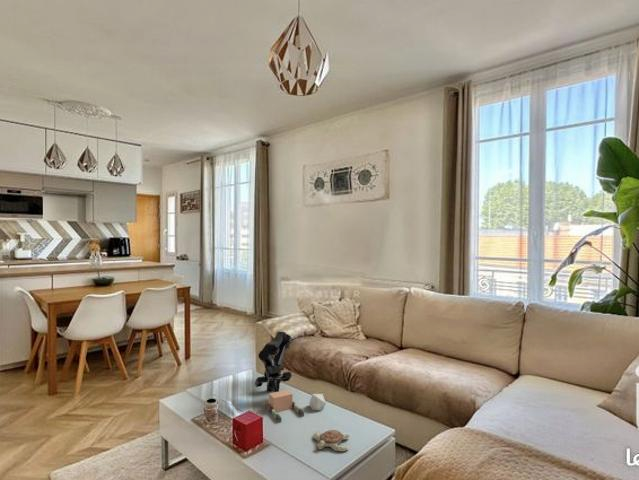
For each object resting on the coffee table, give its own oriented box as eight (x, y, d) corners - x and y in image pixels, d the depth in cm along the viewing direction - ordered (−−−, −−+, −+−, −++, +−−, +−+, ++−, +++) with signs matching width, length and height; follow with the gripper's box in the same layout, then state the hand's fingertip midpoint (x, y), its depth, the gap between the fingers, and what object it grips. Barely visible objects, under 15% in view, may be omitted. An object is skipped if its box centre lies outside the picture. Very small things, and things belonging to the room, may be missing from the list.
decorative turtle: (302, 443, 157) (302, 431, 157) (328, 428, 169) (328, 417, 169) (334, 461, 145) (334, 448, 145) (360, 443, 157) (360, 432, 157)
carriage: (269, 407, 186) (269, 393, 186) (287, 403, 191) (287, 389, 191) (273, 412, 181) (273, 398, 181) (292, 407, 185) (292, 393, 185)
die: (319, 417, 180) (330, 399, 183) (304, 407, 181) (315, 389, 184) (319, 415, 188) (329, 398, 190) (305, 406, 189) (315, 388, 192)
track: (264, 408, 187) (264, 401, 187) (287, 403, 194) (287, 396, 194) (279, 425, 171) (279, 418, 171) (304, 419, 177) (304, 411, 177)
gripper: (256, 361, 188) (263, 391, 179) (290, 356, 197) (299, 384, 188) (251, 372, 195) (258, 401, 186) (284, 366, 204) (292, 394, 195)
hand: (277, 395), depth 188 cm, fingers closed
